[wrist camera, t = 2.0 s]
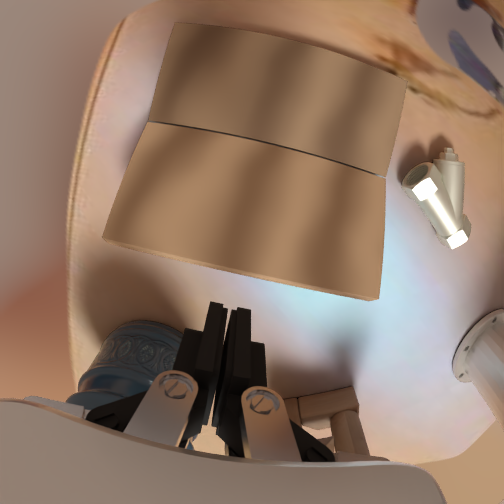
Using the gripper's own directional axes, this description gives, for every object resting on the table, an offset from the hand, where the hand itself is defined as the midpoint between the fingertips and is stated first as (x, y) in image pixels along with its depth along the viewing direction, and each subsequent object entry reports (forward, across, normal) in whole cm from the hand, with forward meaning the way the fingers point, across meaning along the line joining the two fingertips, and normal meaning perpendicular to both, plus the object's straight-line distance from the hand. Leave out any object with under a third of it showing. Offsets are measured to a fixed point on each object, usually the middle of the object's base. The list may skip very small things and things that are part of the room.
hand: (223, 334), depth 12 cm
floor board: (+15, -1, -12) cm, 20 cm away
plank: (+12, -1, -3) cm, 12 cm away
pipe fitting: (+16, -18, -8) cm, 25 cm away
